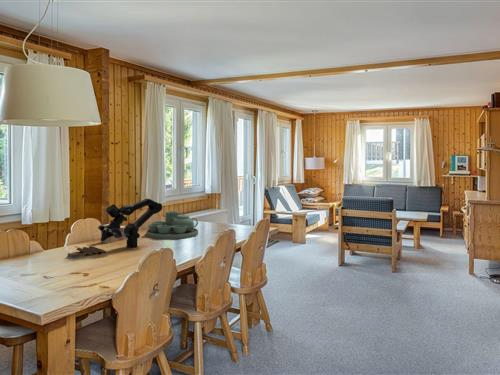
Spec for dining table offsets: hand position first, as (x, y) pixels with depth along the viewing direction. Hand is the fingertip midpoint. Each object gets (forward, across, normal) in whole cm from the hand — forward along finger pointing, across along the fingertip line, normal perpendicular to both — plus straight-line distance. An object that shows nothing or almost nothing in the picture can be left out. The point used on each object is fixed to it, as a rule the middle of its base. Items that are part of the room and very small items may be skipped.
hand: (101, 241), depth 270 cm
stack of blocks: (-15, +27, -25) cm, 40 cm away
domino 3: (+7, 0, -2) cm, 7 cm away
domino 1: (+13, 0, +6) cm, 14 cm away
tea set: (-46, +17, -56) cm, 75 cm away
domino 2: (+10, 0, +1) cm, 10 cm away
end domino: (+14, 0, +5) cm, 15 cm away
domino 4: (+4, 0, -4) cm, 6 cm away
